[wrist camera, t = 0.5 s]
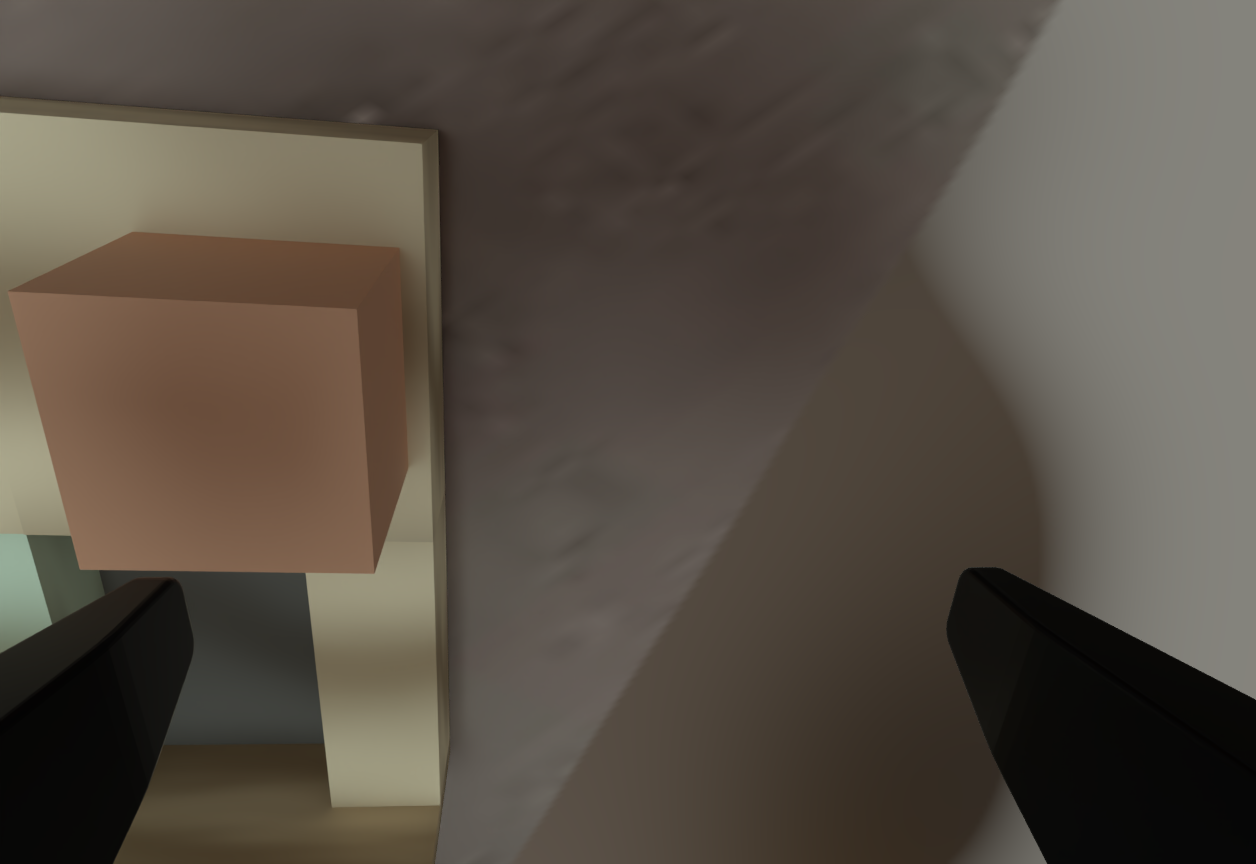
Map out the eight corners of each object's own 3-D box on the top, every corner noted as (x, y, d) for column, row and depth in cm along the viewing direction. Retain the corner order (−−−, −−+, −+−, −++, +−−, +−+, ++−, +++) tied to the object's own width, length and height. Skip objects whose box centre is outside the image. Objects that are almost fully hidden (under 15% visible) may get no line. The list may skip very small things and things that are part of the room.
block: (408, 467, 18) (374, 573, 15) (174, 461, 18) (80, 569, 14) (399, 248, 16) (356, 309, 12) (132, 231, 15) (7, 291, 12)
